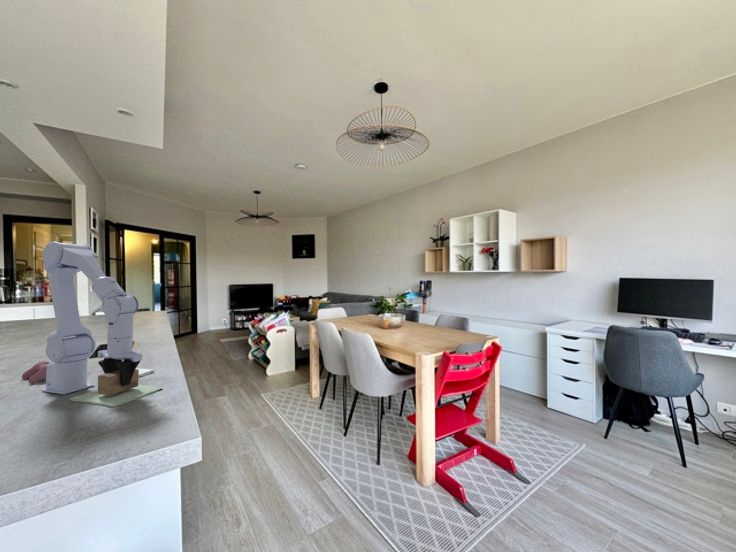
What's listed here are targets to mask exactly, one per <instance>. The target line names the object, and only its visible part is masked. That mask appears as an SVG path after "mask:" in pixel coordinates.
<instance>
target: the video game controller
mask: <svg viewBox="0 0 736 552" xmlns="http://www.w3.org/2000/svg"><path fill="white" fill-rule="evenodd" d="M50 363H51V361H49V360H42V361H38V362H37V363H35V364H34V365H33V366H32V367H31V368H29V369H27V370H26V371H24V372H23V373H22V374H21V379H23V380H27V379H28V381H27V382H28V384H30V385H32V384H37V383H39V382H41V381H43V380H45V379H46V370H47V367H48V365H49V364H50Z"/></svg>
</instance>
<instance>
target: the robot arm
mask: <svg viewBox="0 0 736 552" xmlns="http://www.w3.org/2000/svg"><path fill="white" fill-rule="evenodd" d="M94 251H95V250H93V248H92V247H91V246H90V245H87V244H75V243H68V242H67V243H66V242H58V241H49V242H48V243H47V244H46V245H45V246H44V248H43V250H42V251H41V253H42V254H41V256H42V260H43V262H42V263H43V266H44V267H43V268H44V271H45V272H47V275H48V276H47V277H48V282H49V288H50V294H51V299H52V300H51V301H52V305H53V313H54V318H55V323H56V329H55V330H54V331H53V332H51V333H50V334H49V335H48V336H47V337H46V347H45V355H46V357H47V358H48V360H50V362H51V363H50V364H49V365H48V367H47V370H46V377H45V388H42V389H41V391H42V392H44V393H45V392H46V393H51V394H52V393H53V394H57V395H58V394H59V395H67V394H71V393H74V392H77V391H80V390H84V389H87V388H92V387H94V386H95V383H89V382H88V358H90V357H91V354H92V353H94V352H95V349H96V345H97V344H96V340H95V338H94V336H93V335H92V331H91V329H90V328H88V327H85V326H83V325H82V324H81V318H80V317H81V316H80V312H79V306H78V300H77V294H76V288H75V283H74V278H73V277H74V276H75V274H78V273H79V272H82V273H83V274H84V276H86V278H88V279H89V280H90V282H92V284H91V286H90V287H91V290H92V291H93V292H94V293H95V295H96V296H97V297H98V298H99V300H100V301H101V302H102V304H103V305H102V308H101V309H102V311H103V314H104V315H105V321H106V323H107V341H106V345H107V347H106V349H104V350H99V351H97V358H98V359H103V360H98V365H99V366H100V367H101V369H102V370H103V371H102V372H103V374H106V373H111V372H114V371H118V370H119V374H120V383H121V386H126V385H129V384H130V383H131V379H132V376H133V374H134V371H135V369H136V368H137V367H138V365H139V364H140V363H141V361H143V353H142V352H140V353H139V352H138V351H135V350H133V333H134V314H135V313H137V311H138V310H139V307H140V306H139V301H138V298H137V296H135V295H133V294H129V293H128V292H125V290H124V289H123V288H122V287H121V286H120V285H119V283H118V282H117V280H116V278H114V277H111V276H106V275H105V273H104V272H103V270H102V268H101V267H100V266H99V263H98V262H97V261H96V259H95V256H96V252H94Z"/></svg>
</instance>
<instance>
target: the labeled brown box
mask: <svg viewBox="0 0 736 552" xmlns="http://www.w3.org/2000/svg"><path fill="white" fill-rule="evenodd" d="M138 375H139V369H135V371H134V374H133V376H132V379H131V383H130V384H129V385H126V386H121V383H120V374H119V370H118V371H114V372H111V373H106V374H105V373H103V374H100V375H97V390H98V394H102V395H109V396H110V395H113V394H116V393H119V392H122V391H125V390H128V389H131V388H134V387H137V386H138V384H139V377H138Z"/></svg>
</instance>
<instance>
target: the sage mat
mask: <svg viewBox="0 0 736 552" xmlns="http://www.w3.org/2000/svg"><path fill="white" fill-rule="evenodd" d="M160 389H162V390H163V387H160V386H153V385H152V386H151V385H145V384H140V383H138V386H137V387H134V388H131V389H128V390H125V391H122V392H119V393H116V394H113V395H110V396H109V395H102V394H98V389H97V390H93V391H90V392H86V393H84V394H80V395H77V396H74V397H71V398H70V401H73V402H77V403H78V402H81V403H86V404H92V405H97V406H98V405H99V406H104V407H111V408H115V407H118V406H120V405H121V406H122V405H123V404H124V405H125V404H126V403H129V402H132V401H134V400H137V399H139V398H142V397H143V398H144V397H145V396H148V395H151V394H154V393H156V392H159V391H161V390H160ZM158 390H159V391H158ZM155 391H156V392H155ZM153 392H154V393H153Z"/></svg>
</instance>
